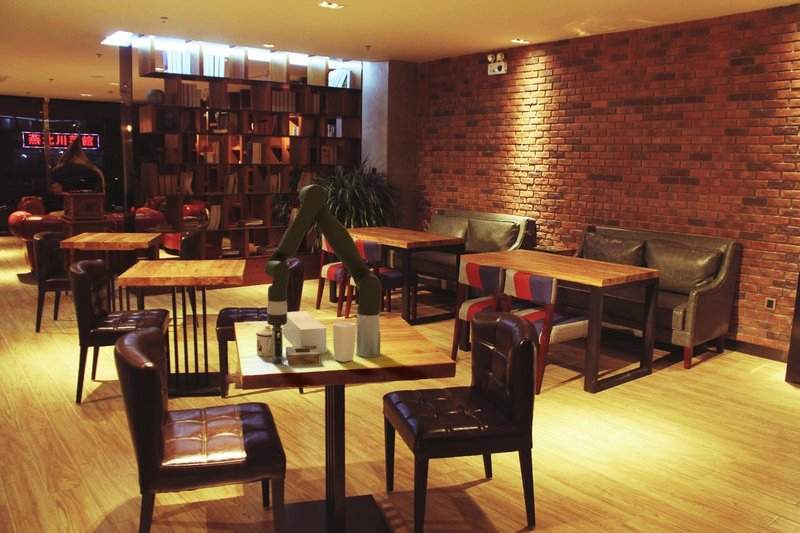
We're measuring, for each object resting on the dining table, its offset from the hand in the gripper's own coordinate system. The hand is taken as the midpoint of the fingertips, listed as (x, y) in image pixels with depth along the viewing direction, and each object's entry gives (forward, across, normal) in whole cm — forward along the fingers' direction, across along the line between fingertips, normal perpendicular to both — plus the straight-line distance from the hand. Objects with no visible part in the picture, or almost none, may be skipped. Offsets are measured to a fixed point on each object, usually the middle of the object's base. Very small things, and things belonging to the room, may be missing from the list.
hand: (277, 354), depth 271 cm
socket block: (+3, +2, -10) cm, 11 cm away
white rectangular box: (+4, +26, -13) cm, 29 cm away
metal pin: (+3, 0, 0) cm, 3 cm away
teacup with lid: (+4, +12, +3) cm, 13 cm away
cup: (+4, -1, -26) cm, 26 cm away
